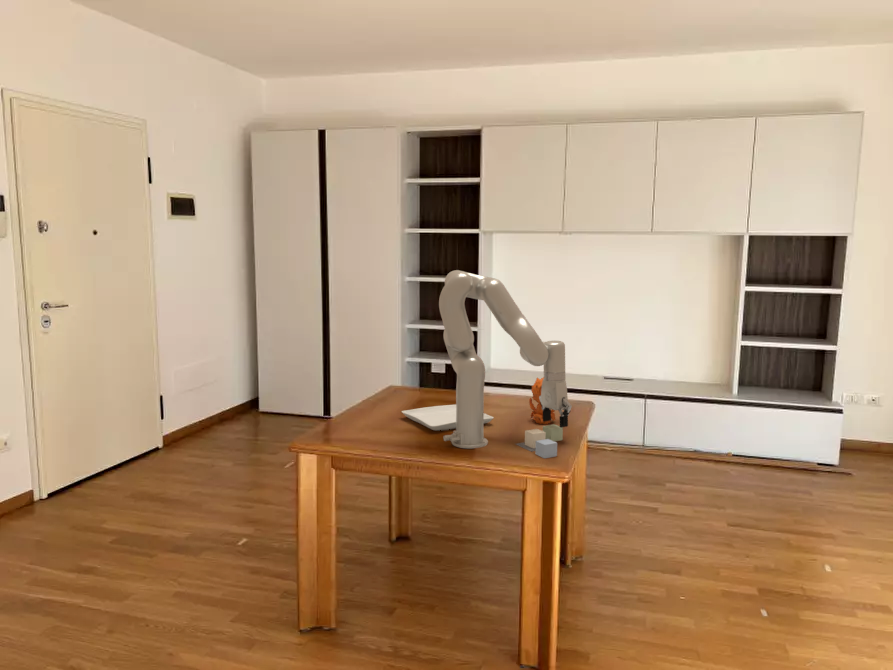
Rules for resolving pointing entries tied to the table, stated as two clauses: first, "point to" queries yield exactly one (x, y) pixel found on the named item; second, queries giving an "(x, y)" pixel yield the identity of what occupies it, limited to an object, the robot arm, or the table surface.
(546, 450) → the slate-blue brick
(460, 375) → the robot arm
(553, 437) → the pale green cube
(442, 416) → the square plate
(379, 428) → the table surface
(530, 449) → the mat
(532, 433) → the beige cube
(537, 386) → the orange sculpted figure
